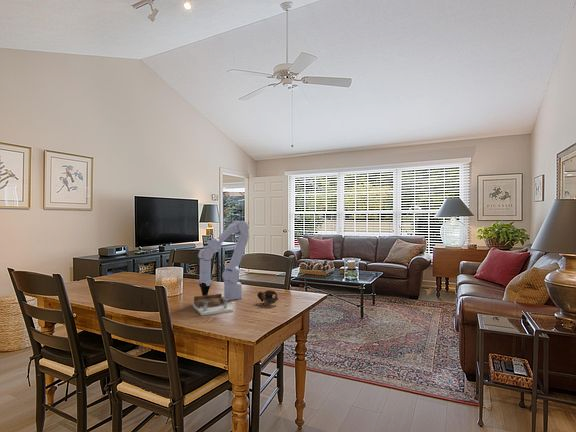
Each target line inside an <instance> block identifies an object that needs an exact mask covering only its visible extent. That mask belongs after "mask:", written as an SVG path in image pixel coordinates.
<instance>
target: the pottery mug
mask: <svg viewBox="0 0 576 432" xmlns="http://www.w3.org/2000/svg"><path fill="white" fill-rule="evenodd" d="M256 295H257V298H258V299H259V300H260V302H261V303H262V302H263V305H264V307H267V306H268V305H272V304H274V303H276V302H277V301H279V297H278V293H277V292H276V291H275V290H272V289H268V290H265V291H264V292H263V291H259V292H257V294H256ZM274 295H275V296H274ZM273 296H274V297H273Z"/></svg>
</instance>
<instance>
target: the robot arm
mask: <svg viewBox="0 0 576 432" xmlns="http://www.w3.org/2000/svg"><path fill="white" fill-rule="evenodd" d="M249 227H250V226H249V224H248V223H247V222H246V221H245V220H233V221H232V222H231V223H230V224H228V225H227V227H226V228H225V229H224V230H223V231H222V233H220V235H219V236H218V237H217V238H213V239H210V241H209V243H208V244H207V245H205V246H204V247H203V248H202V249H200V250H199V251H198V254H197V257H198V259H199V279H197V281H196V282H198V286H199V288H200V290H201V296H205V295H209V290H210V288H211V287H212V284H211V282H212V280H211V279H212V278H211V274H212V273H211V272H212V271H211V269H212V268H211V267H212V266H211V265H212V264H211V263H212V261H211V259H213V257H214V254H215V253H216V252H217V251H218V250H219V249H220V248H221V247H222V243H223V242H224V241H226V239H228V237H230V236H231V235H233V234H235V235H236V236H237V238H238V239H237V241H236V244H235V247H234V250H233V253H232V256H231V258H230V262H229V264H228V265H226V268H225V270H224V271H223V272H222V274H221V277H222V279H223V296H221V297H222V298H223V299H228V301H232V300H233V301H234V300H240V299H243V297H242V295H243V294H242V293H243V292H242V291H243V289H242V282H240V280H239V279H240V272H241V270H240V265H241V262H242V259H243V255H244V254H245V251H246V250H245V249H246V247H247V244H248V241H249V238H250V237H249V236H250V235H249ZM199 282H200V283H199Z"/></svg>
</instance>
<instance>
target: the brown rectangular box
mask: <svg viewBox="0 0 576 432" xmlns="http://www.w3.org/2000/svg"><path fill="white" fill-rule="evenodd" d="M222 297H223V296H222V293H217V294H208V295H205V296H202V295H198V296H197V295H196V296H194V297H193V304H195V305H196V306H197V307H198V308H200V306H204V304H203V302H205V301H207V302H208V304H207V307H209V306H217V305H220V303H223V304H224V302H223V298H222Z"/></svg>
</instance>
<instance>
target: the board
mask: <svg viewBox="0 0 576 432" xmlns="http://www.w3.org/2000/svg"><path fill="white" fill-rule="evenodd" d="M223 302H224V304H223V303H220V305H217V306H209V307H207V304H208V302H207V301H205V302H203V304H204V306H200V308H198V307H197V306H196V305H195V304H194V303H192V307H193V308H194V309H195V311H197V313H199V315H201V316H208V315H217V314H224V313H229V312H230V313H231V312H234V309H233V308H232V307H231V306H230V305H228V302H229V300H228V299H223Z"/></svg>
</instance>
